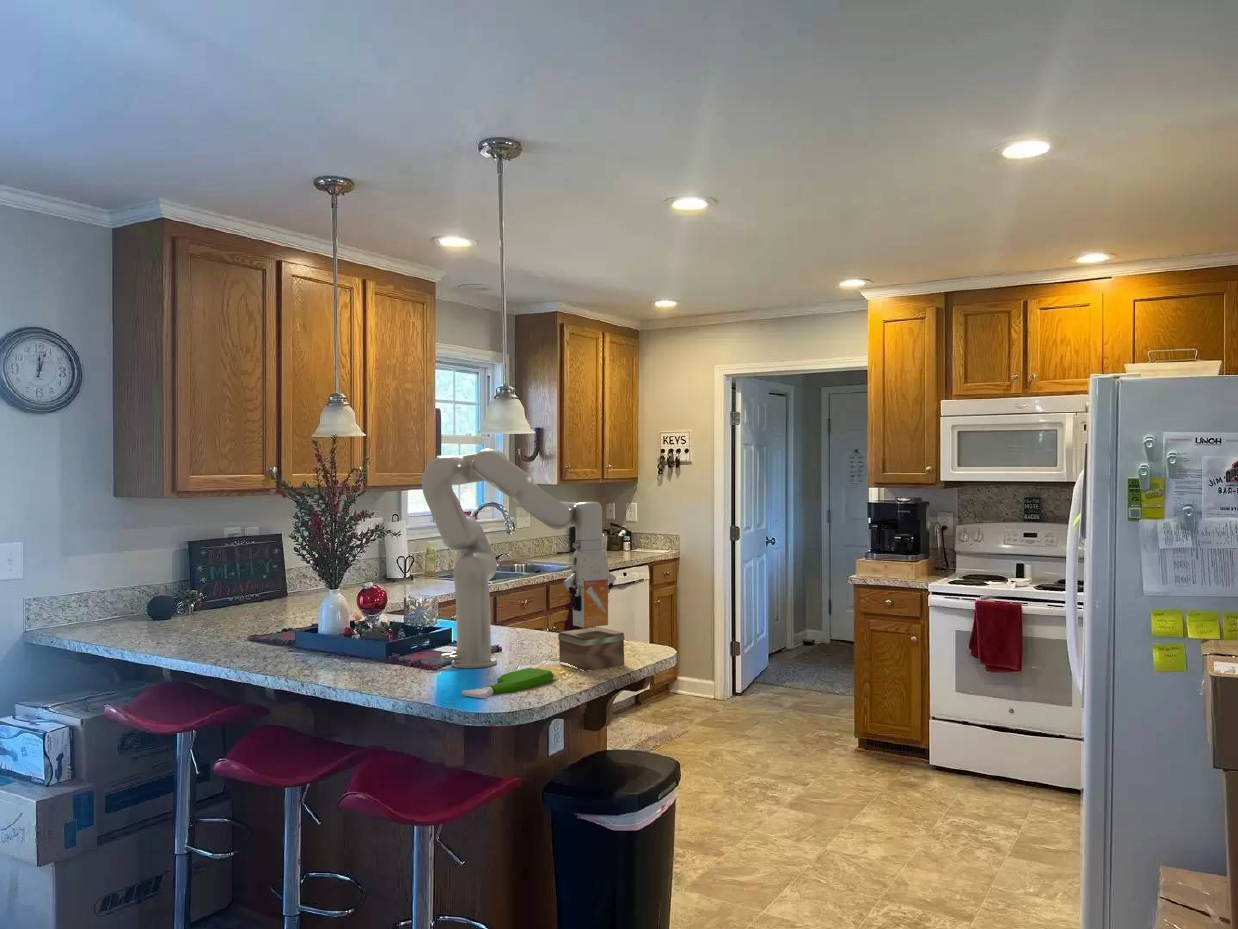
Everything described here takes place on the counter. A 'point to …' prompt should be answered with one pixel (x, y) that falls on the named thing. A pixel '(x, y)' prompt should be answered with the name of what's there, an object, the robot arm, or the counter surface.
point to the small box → (592, 604)
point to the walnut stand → (592, 648)
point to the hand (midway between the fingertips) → (590, 608)
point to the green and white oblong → (514, 682)
